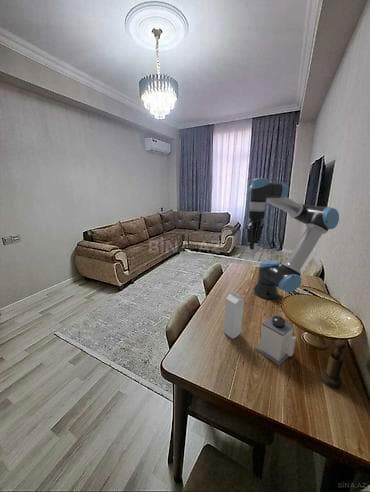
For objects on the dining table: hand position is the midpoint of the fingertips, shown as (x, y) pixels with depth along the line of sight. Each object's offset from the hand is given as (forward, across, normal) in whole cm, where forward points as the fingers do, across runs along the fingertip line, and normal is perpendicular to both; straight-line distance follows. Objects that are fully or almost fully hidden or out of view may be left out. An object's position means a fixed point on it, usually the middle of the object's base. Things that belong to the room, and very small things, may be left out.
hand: (252, 254), depth 112 cm
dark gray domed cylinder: (+32, +17, +26) cm, 45 cm away
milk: (+35, +22, +7) cm, 42 cm away
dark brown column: (+35, +14, +47) cm, 60 cm away
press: (+34, +17, +26) cm, 46 cm away
